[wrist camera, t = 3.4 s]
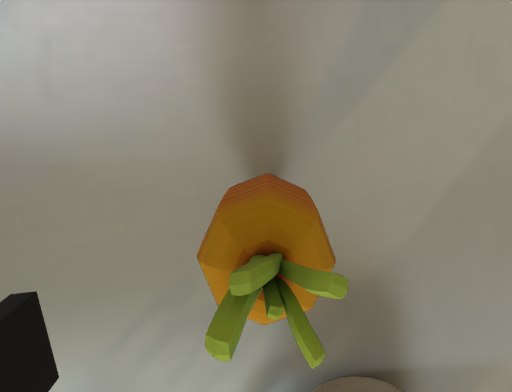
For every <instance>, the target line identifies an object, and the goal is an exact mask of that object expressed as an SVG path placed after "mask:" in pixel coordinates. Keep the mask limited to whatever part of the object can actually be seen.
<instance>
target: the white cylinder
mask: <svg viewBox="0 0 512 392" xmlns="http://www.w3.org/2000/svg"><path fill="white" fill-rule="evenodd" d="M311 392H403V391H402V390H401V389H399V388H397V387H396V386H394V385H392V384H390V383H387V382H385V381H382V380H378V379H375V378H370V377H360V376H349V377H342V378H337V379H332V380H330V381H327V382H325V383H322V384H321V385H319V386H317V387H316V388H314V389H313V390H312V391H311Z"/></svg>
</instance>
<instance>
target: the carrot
mask: <svg viewBox="0 0 512 392" xmlns="http://www.w3.org/2000/svg"><path fill="white" fill-rule="evenodd" d="M197 259H198V261H199V264H200V266H201V268H202V270H203V273H204V275H205V277H206V280H207V282H208V284H209V286H210V289H211V291H212V293H213V296H214V298H215V300H216V302H217V305H218V306H219V307H218V309H217V311H216V313H215V315H214V317H213V320H212V322H211V324H210V326H209V329H208V331H207V333H206V338H205V347H206V349H207V351H208V353H209V354H210V355H212V356H213V357H214V358H216V359H217V360H220V361H230V360H231V358H232V356H233V353H234V351H235V348H236V346H237V343H238V341H239V339H240V336H241V333H242V330H243V327H244V324H245V322H246V319H247V318H248V319H250V320H253V321H255V322H258V323H260V324H262V325H266V324H269V323H272V322H275V321H278V320H281V319H284V318H287V319H288V322H289V324H290V327H291V330H292V332H293V335H294V337H295V340H296V342H297V344H298V346H299V348H300V350H301V352H302V354H303V356H304V357H305V359H306V360H307V362H308V364H309V365H310V367H311V368H312V369H313V368H315V367H316V366H318V365H320V364H321V362H322V361H323V359H324V357H325V351H324V349H323V347H322V345H321V343H320V341H319V339H318V337H317V336H316V334H315V332H314V331H313V329H312V327H311V325H310V323H309V321H308V319H307V317H306V315H305V313H304V312H305V311H308V310H311V309H312V307H313V305H314V303H315V301H316V299H317V298H318V296H319V295H320V296H324V297H329V298H334V299H344V297H345V295H346V293H347V290H348V281H349V280H348V279H346V278H345V277H343V276H342V275H339V274H335V273H331V271H332V269H333V267H334V264H335V262H336V261H335V256H334V253H333V251H332V248H331V245H330V243H329V240H328V237H327V234H326V232H325V229H324V226H323V223H322V221H321V218H320V215H319V213H318V210H317V208H316V206H315V204H314V202H313V201H312V199H311V197H310V196H309V194H308V193H307V192H306V190H304V189H302V188H300V187H298V186H296V185H293V184H291V183H289V182H287V181H284V180H282V179H280V178H278V177H275V176H273V175H271V174H269V173H267V174H264V175H261V176H259V177H256V178H253V179H251V180H248V181H245V182H243V183H240V184H237V185H235V186H233V187H231V188H229V189H228V191H227V192H226V194H225V195H224V197H223V198H222V200H221V202H220V204H219V206H218V208H217V210H216V212H215V215H214V217H213V219H212V222H211V224H210V226H209V228H208V231H207V233H206V235H205V237H204V240H203V242H202V244H201V247H200V249H199V251H198V253H197Z"/></svg>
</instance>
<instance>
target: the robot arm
mask: <svg viewBox="0 0 512 392" xmlns="http://www.w3.org/2000/svg"><path fill="white" fill-rule="evenodd" d="M58 378H59V375H58V372H57V368H56V364H55V360H54V356H53V353H52V349H51V345H50V341H49V337H48V334H47V330H46V326H45V322H44V318H43V315H42V311H41V307H40V303H39V299H38V295H37V292H27V293H19V294H10V295H9V296H8V297H7V298H5V299H4V300H3V301H1V302H0V392H48V391H49V390H50V389H51V387H52V386H53V385H54V383H55V382H56V381H57V379H58Z"/></svg>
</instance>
